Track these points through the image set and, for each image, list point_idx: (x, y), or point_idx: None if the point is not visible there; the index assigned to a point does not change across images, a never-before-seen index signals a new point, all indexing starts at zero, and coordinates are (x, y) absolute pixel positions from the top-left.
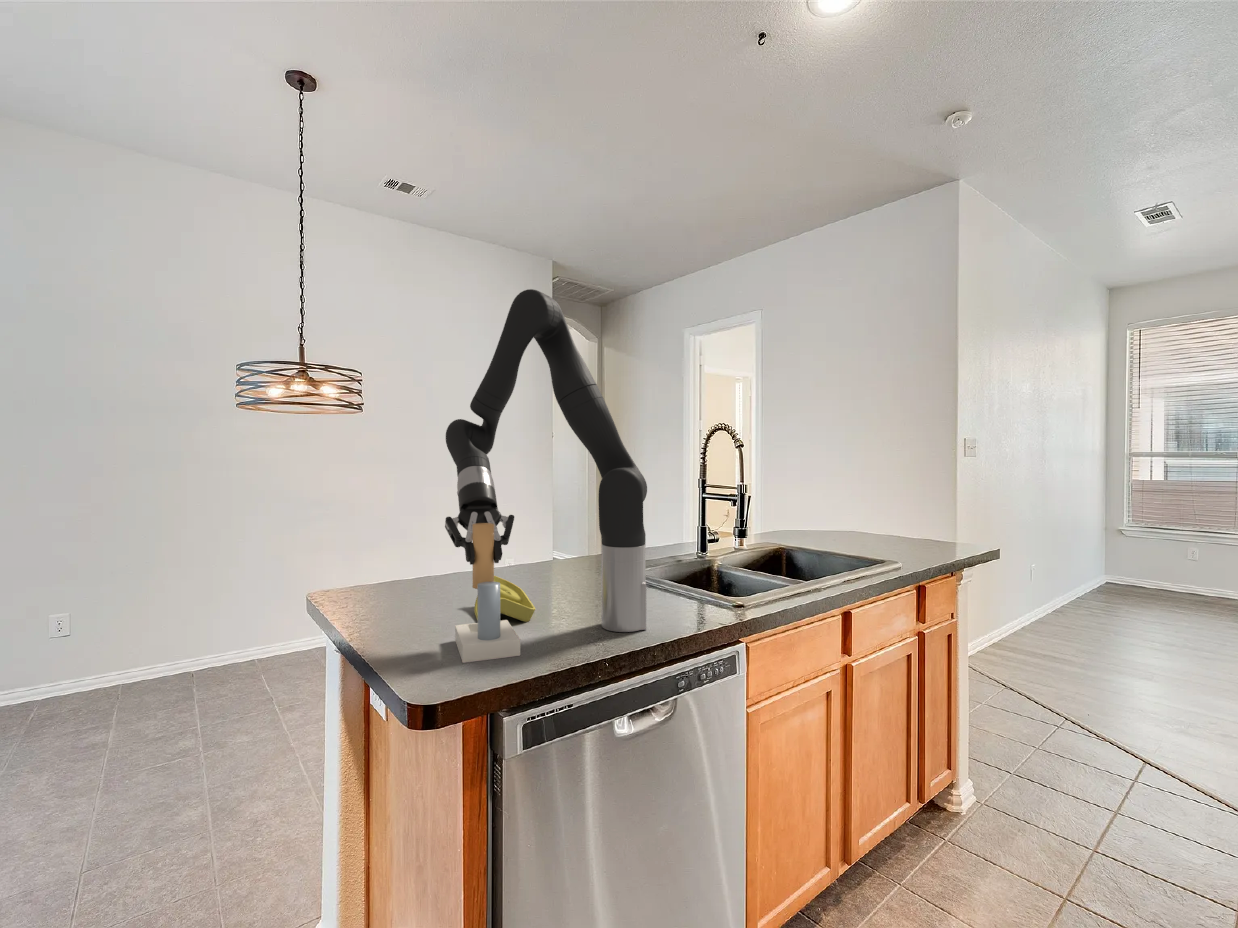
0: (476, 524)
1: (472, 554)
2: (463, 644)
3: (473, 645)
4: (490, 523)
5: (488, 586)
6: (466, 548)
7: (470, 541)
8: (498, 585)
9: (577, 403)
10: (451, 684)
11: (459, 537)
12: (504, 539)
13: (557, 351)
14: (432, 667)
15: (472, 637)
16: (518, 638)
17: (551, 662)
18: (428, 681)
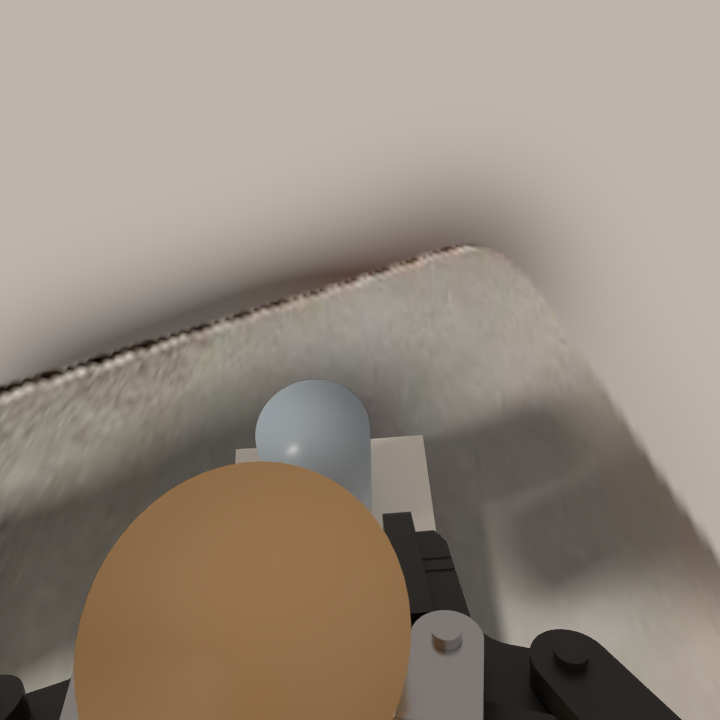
0: (352, 601)
1: (399, 528)
2: (420, 444)
3: (388, 438)
4: (116, 694)
5: (321, 380)
6: (455, 588)
7: (424, 619)
8: (270, 401)
9: None
10: (440, 321)
11: (558, 644)
12: (37, 697)
13: None
14: (502, 442)
15: (390, 512)
16: (240, 455)
17: (181, 391)
18: (497, 351)
